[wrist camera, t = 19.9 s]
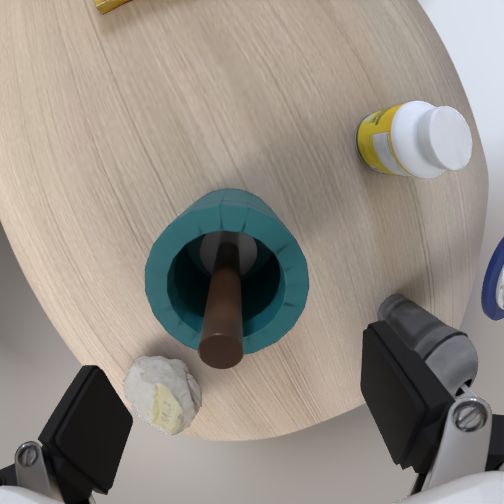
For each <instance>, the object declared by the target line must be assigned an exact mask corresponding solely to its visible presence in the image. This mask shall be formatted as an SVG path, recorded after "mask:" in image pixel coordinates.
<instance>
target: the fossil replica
mask: <svg viewBox="0 0 504 504" xmlns="http://www.w3.org/2000/svg"><path fill="white" fill-rule="evenodd" d="M123 387H124V393H125V397H126V398H127V400H128V401H129V402H130V403H131V406H132V409H133V411H134V412H135V413H136V414H137V415H138V416H139V417H140V418H142V419H143V420H144V421H146V422H147V423H148V424H150V425H152V426H154V427H156V428H157V429H158V430H159V431H161V432H163V433H168V434H170V435H175V434H177V433H179V432H181V431H183V430H184V429H185V428H186V427H189V426H190V424H191V422H192V420H193V419H194V417H195V415H196V414H197V413H198V411H199V409H200V407H201V406H202V405H201V401H202V395H201V389H200V386H199V385H198V383H197V381H196V380H195V379H194V378H193V376H192V375H191V374H189V370H188V368H187V366H186V364H185V363H184V362H183V361H181V360H178V359H172V360H169V359H167V358H165V357H163V356H152V357H147V356H141V357H139V358H137V359H136V360H135V361H134V363H132V365H131V367H130V369H129V373H128V375H127V377H126V378H125V379H124V380H123Z"/></svg>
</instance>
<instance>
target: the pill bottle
mask: <svg viewBox="0 0 504 504" xmlns="http://www.w3.org/2000/svg"><path fill="white" fill-rule="evenodd" d="M355 145H356V150H357V152H358V155H359V157H360V158H361V160H362V161H363V162H364V164H365V165H366V166H368V167H369V168H370V169H372V170H374V171H376V172H378V173H383V174H393V175H401V176H408V177H414V178H422V179H432V178H436V177H439V176H440V175H442V174H443V173H444V172H446V171H447V170H450V171H457V170H461V169H462V168H464V167H465V166H466V165H467V163H468V162H469V160H470V157H471V152H472V137H471V133H470V130H469V127H468V125H467V123H466V121H465V119H464V118H463V116H462V115H461V114H460V113H459V112H458V111H456V110H455V109H453V108H451V107H447V106H441V107H434V106H433V105H431V104H429V103H427V102H423V101H412V102H408V103H405V104H401V105H398V106H395V107H392V108H388V109H385V110H382V111H379V112H376V113H373V114H370V115H368V116H366V117H365V118H364V119H363V120H362V121H361V122H360V123H359V125H358V127H357V129H356V133H355Z"/></svg>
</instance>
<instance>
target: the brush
mask: <svg viewBox="0 0 504 504" xmlns="http://www.w3.org/2000/svg"><path fill="white" fill-rule="evenodd" d="M199 256H200V260H201V263H202V265H203V266H204V268H205V269H206V270H207V271H208V272H209V273H210V274H212V278H211V283H210V288H209V293H208V298H207V303H206V308H205V313H204V318H203V323H202V329H201V334H200V339H199V344H198V354H199V356H200V358H201V360H202V361H203V362H204V363H205V364H207V365H208V366H210V367H213V368H217V369H227V368H231V367H233V366H235V365H237V364H238V363H239V362H240V361H241V359H242V357H243V354H244V345H243V325H242V303H241V279H240V277H242V276H244V275H246V274H247V273H248V272H249V271H250V270H251V269H252V268H253V266H254V265H255V263H256V260H257V256H258V248H257V243H256V240H255V238H253V237H251V236H248V235H246V234H244V233H240V232H231V231H217V232H212V233H208V234H204V236H203V238H202V240H201V243H200V247H199Z"/></svg>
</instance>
